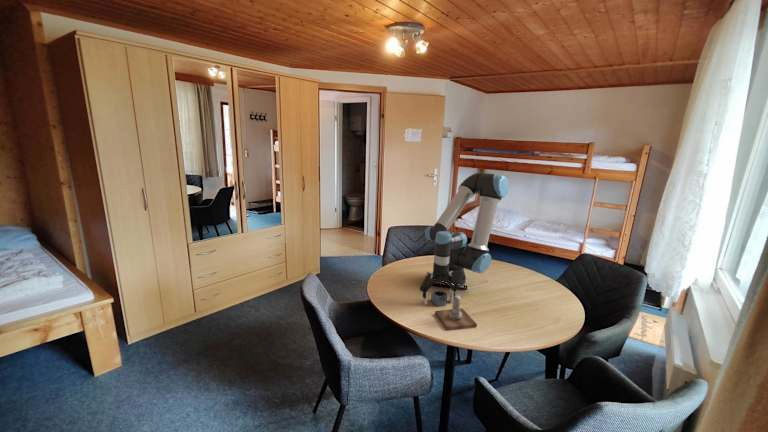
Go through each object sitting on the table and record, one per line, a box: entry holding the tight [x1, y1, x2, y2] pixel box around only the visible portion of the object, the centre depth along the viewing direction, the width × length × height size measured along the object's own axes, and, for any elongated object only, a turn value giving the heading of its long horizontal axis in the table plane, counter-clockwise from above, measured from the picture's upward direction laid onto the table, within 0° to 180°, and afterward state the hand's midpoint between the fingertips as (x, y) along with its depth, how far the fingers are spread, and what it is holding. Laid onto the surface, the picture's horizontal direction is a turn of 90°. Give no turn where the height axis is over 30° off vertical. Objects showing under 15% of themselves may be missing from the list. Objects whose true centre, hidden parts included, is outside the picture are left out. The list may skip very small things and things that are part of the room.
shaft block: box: [434, 294, 478, 331], centre depth 148 cm, size 14×14×12 cm
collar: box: [430, 289, 448, 308], centre depth 165 cm, size 7×7×5 cm
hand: (438, 302), depth 165 cm, fingers open, 13 cm apart
